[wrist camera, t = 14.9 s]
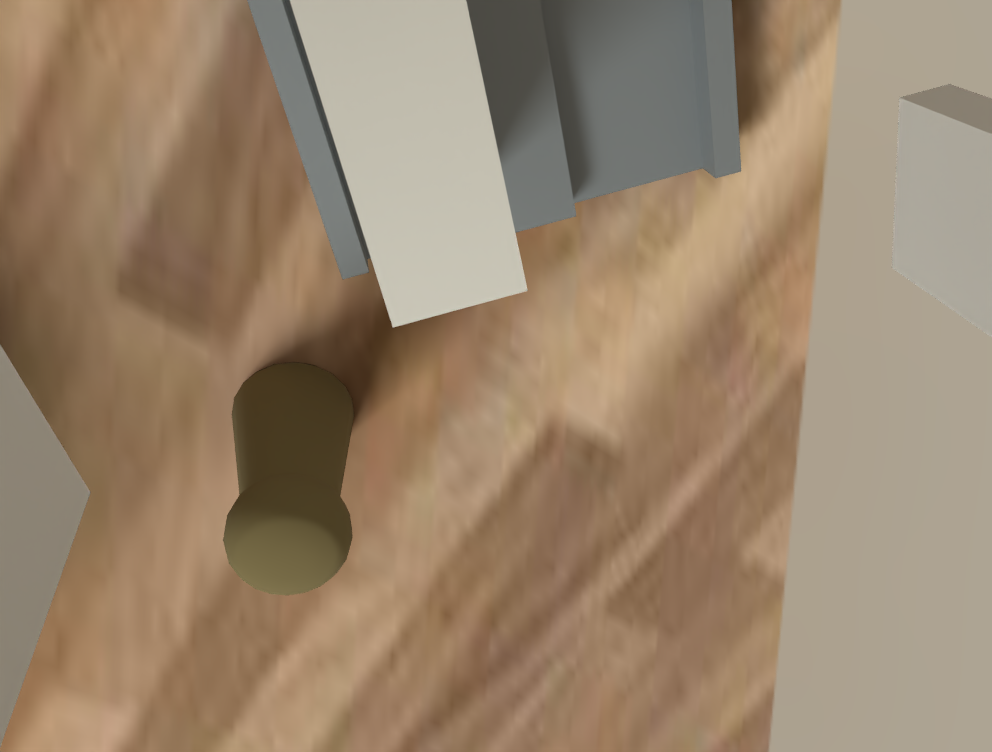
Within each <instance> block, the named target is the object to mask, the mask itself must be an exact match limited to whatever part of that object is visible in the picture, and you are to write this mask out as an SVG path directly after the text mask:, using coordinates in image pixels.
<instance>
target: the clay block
mask: <svg viewBox="0 0 992 752" xmlns="http://www.w3.org/2000/svg"><path fill="white" fill-rule="evenodd" d="M290 3H291V6H292V9H293V12H294V16H295V19H296V22H297V25H298V28H299V31H300V35H301V38H302V41H303V44H304V47H305V51H306V54H307V57H308V60H309V63H310V66H311V70H312V73H313V76H314V79H315V82H316V85H317V89H318V92H319V95H320V98H321V101H322V104H323V108H324V111H325V114H326V117H327V120H328V123H329V127H330V130H331V133H332V136H333V139H334V143H335V146H336V149H337V152H338V155H339V158H340V162H341V165H342V168H343V171H344V174H345V177H346V181H347V184H348V187H349V190H350V193H351V196H352V200H353V203H354V206H355V209H356V212H357V215H358V219H359V222H360V225H361V228H362V231H363V235H364V238H365V241H366V244H367V247H368V250H369V254H370V257H371V260H372V263H373V266H374V269H375V273H376V276H377V279H378V282H379V285H380V288H381V292H382V295H383V298H384V301H385V304H386V307H387V311H388V314H389V317H390V320H391V323H392V327H397V326H400V325H404V324H408V323H411V322H415V321H419V320H422V319H426V318H430V317H433V316H437V315H441V314H444V313H448V312H452V311H455V310H459V309H463V308H466V307H470V306H474V305H477V304H481V303H485V302H488V301H492V300H496V299H499V298H503V297H506V296H510V295H514V294H517V293H521V292H525V291H528V290H527V286H526V281H525V276H524V272H523V267H522V262H521V257H520V253H519V248H518V243H517V238H516V234H515V229H514V224H513V219H512V215H511V210H510V205H509V201H508V196H507V191H506V186H505V182H504V177H503V172H502V167H501V163H500V158H499V153H498V148H497V144H496V139H495V134H494V130H493V125H492V120H491V115H490V111H489V106H488V101H487V96H486V92H485V87H484V82H483V77H482V73H481V68H480V63H479V59H478V54H477V49H476V44H475V40H474V35H473V30H472V25H471V21H470V16H469V11H468V6H467V2H466V0H290Z"/></svg>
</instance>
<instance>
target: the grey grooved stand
mask: <svg viewBox="0 0 992 752" xmlns="http://www.w3.org/2000/svg"><path fill="white" fill-rule="evenodd" d="M247 1H248V4H249V7H250V10H251V13H252V15H253V18H254V21H255V24H256V27H257V30H258V33H259V36H260V39H261V42H262V45H263V48H264V51H265V54H266V57H267V59H268V62H269V65H270V68H271V71H272V74H273V77H274V80H275V83H276V86H277V89H278V92H279V95H280V98H281V100H282V103H283V106H284V109H285V112H286V115H287V118H288V121H289V124H290V127H291V130H292V133H293V136H294V139H295V142H296V144H297V147H298V150H299V153H300V156H301V159H302V162H303V165H304V168H305V171H306V174H307V177H308V180H309V183H310V185H311V188H312V191H313V194H314V197H315V200H316V203H317V206H318V209H319V212H320V215H321V218H322V221H323V224H324V227H325V229H326V232H327V235H328V238H329V241H330V244H331V247H332V250H333V253H334V256H335V259H336V262H337V265H338V268H339V270H340V273H341V276H342V279H346V278H350V277H354V276H357V275H361V274H365V273H368V272H369V268H368V260H367V259H369V258H371V257H370V254H369V250H368V247H367V244H366V241H365V238H364V235H363V231H362V228H361V225H360V222H359V219H358V215H357V212H356V209H355V206H354V203H353V200H352V196H351V193H350V190H349V187H348V184H347V181H346V177H345V174H344V171H343V168H342V165H341V162H340V158H339V155H338V152H337V149H336V146H335V143H334V139H333V136H332V133H331V130H330V127H329V123H328V120H327V117H326V114H325V111H324V108H323V104H322V101H321V98H320V95H319V92H318V89H317V85H316V82H315V79H314V76H313V73H312V70H311V66H310V63H309V60H308V57H307V54H306V51H305V47H304V44H303V41H302V38H301V35H300V31H299V28H298V25H297V22H296V19H295V16H294V12H293V9H292V6H291V3H290V0H247ZM466 2H467V6H468V11H469V16H470V21H471V25H472V30H473V35H474V40H475V44H476V49H477V54H478V59H479V63H480V68H481V73H482V77H483V82H484V87H485V92H486V96H487V101H488V106H489V111H490V115H491V120H492V125H493V130H494V134H495V139H496V144H497V148H498V153H499V158H500V163H501V167H502V172H503V177H504V182H505V186H506V191H507V196H508V201H509V205H510V210H511V215H512V219H513V224H514V229H515V233H516V232H519V231H523V230H527V229H530V228H534V227H538V226H541V225H545V224H549V223H553V222H556V221H560V220H564V219H567V218H571V217H575V216H576V211H575V205H574V203H576V202H580V201H583V200H587V199H591V198H595V197H598V196H602V195H606V194H609V193H613V192H617V191H620V190H624V189H628V188H631V187H635V186H639V185H643V184H646V183H650V182H654V181H657V180H661V179H665V178H668V177H672V176H676V175H679V174H683V173H687V172H691V171H694V170H698V169H702V168H703V169H705V170H706V171H707V172H708V173H710V174H711V175H712V176H713V177H715V178H718V177H722V176H726V175H729V174H733V173H737V172H740V171H741V160H740V142H739V124H738V106H737V88H736V70H735V52H734V35H733V17H732V0H466Z"/></svg>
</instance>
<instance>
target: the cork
mask: <svg viewBox="0 0 992 752" xmlns="http://www.w3.org/2000/svg"><path fill="white" fill-rule="evenodd" d="M353 418H354V410H353V403H352V398H351V396H350V395H349V393H348V391H347V389H346V387H345V386H344V384H343V383H342V382H340V381H339V380H338V379H337V378H336V377H335V376H334V375H333V374H331V373H330V372H328V371H325V370H323V369H321V368H319V367H317V366H314V365H309V364H303V363H296V362H292V363H283V364H275V365H272V366H270V367H267V368H265V369H263V370H260V371H258V372H256V373H255V374H254V375H253V376H251V377H250V378H249V379H248V380H246V381H245V382H244V383H243V384H242V386H241V388H240V389H239V391H238V393H237V394H236V396H235V398H234V404H233V410H232V420H233V431H234V441H235V452H236V462H237V473H238V484H239V494H240V495H239V497H238V499H237V500H236V502H235V503H234V505H233V506H232V508H231V510H230V512H229V513H228V515H227V520H226V526H225V532H224V538H223V541H224V545H225V550H226V553H227V557H228V561H229V564H230V565H231V567H232V568H233V569H234V570H235V572H236V573H237V574H238V576H239V577H240V578H241V579H242V580H243V581H245V582H246V583H248V584H249V585H251V586H252V587H254V588H255V589H257V590H260V591H263V592H267V593H270V594H277V595H293V594H300V593H305V592H308V591H310V590H313V589H315V588H318V587H320V586H321V585H323V584H324V583H325V582H327V581H328V580H329V579H331V578H332V577H333V576H334V575H335V574H336V573H337V572H338V570H339V569H340V568H341V566H342V565H343V564H344V562H345V561H346V559H347V555H348V552H349V548H350V545H351V541H352V527H351V520H350V514H349V511H348V509H347V507H346V505H345V503H344V502H343V500H342V499H341V497H340V494H341V488H342V482H343V476H344V471H345V465H346V459H347V453H348V447H349V442H350V436H351V430H352V424H353Z"/></svg>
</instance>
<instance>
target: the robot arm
mask: <svg viewBox="0 0 992 752" xmlns="http://www.w3.org/2000/svg"><path fill="white" fill-rule="evenodd" d="M892 268H893V269H894V270H896V271H898V272H899V273H900V274H902V275H903V276H904V277H906V278H907V279H909V280H910V281H912V282H913V283H914V284H916V285H917V286H919V287H920V288H922V289H923V290H925V291H926V292H927V293H929V294H930V295H932V296H933V297H935V298H936V299H937V300H939V301H940V302H942V303H943V304H945V305H946V306H948V307H949V308H950V309H952V310H953V311H955V312H956V313H958V314H959V315H960V316H962V317H963V318H965V319H966V320H968V321H969V322H970V323H972V324H973V325H975V326H976V327H978V328H979V329H981V330H982V331H984V332H985V333H986V334H988V335H989V336H991V337H992V99H991V98H988V97H985V96H983V95H980V94H977V93H974V92H971V91H968V90H965V89H962V88H959V87H956V86H954V85H951V84H948V85H944V86H941V87H937V88H933V89H930V90H926V91H922V92H918V93H915V94H911V95H908V96H904V97H900V101H899V122H898V144H897V166H896V188H895V211H894V233H893V254H892ZM89 495H90V491H89V489H88V488H87V486H86V484H85V483H84V481H83V479H82V478H81V476H80V474H79V473H78V471H77V469H76V468H75V466H74V465H73V463H72V461H71V460H70V458H69V456H68V455H67V453H66V451H65V450H64V448H63V447H62V445H61V443H60V442H59V440H58V438H57V437H56V435H55V433H54V432H53V430H52V429H51V427H50V425H49V424H48V422H47V420H46V419H45V417H44V415H43V414H42V412H41V410H40V409H39V407H38V406H37V404H36V402H35V401H34V399H33V397H32V396H31V394H30V392H29V391H28V389H27V388H26V386H25V384H24V383H23V381H22V379H21V378H20V376H19V374H18V373H17V371H16V370H15V368H14V366H13V365H12V363H11V361H10V360H9V358H8V356H7V355H6V353H5V351H4V350H3V348H2V347H1V345H0V746H1V743H2V740H3V738H4V735H5V732H6V729H7V726H8V723H9V721H10V718H11V715H12V712H13V709H14V707H15V704H16V701H17V698H18V695H19V692H20V690H21V687H22V684H23V681H24V678H25V676H26V673H27V670H28V667H29V664H30V661H31V659H32V656H33V653H34V650H35V647H36V645H37V642H38V639H39V636H40V633H41V630H42V628H43V625H44V622H45V619H46V616H47V613H48V611H49V608H50V605H51V602H52V599H53V597H54V594H55V591H56V588H57V585H58V582H59V580H60V577H61V574H62V571H63V568H64V566H65V563H66V560H67V557H68V554H69V551H70V549H71V546H72V543H73V540H74V537H75V535H76V532H77V529H78V526H79V523H80V520H81V518H82V515H83V512H84V509H85V506H86V504H87V501H88V498H89Z"/></svg>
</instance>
